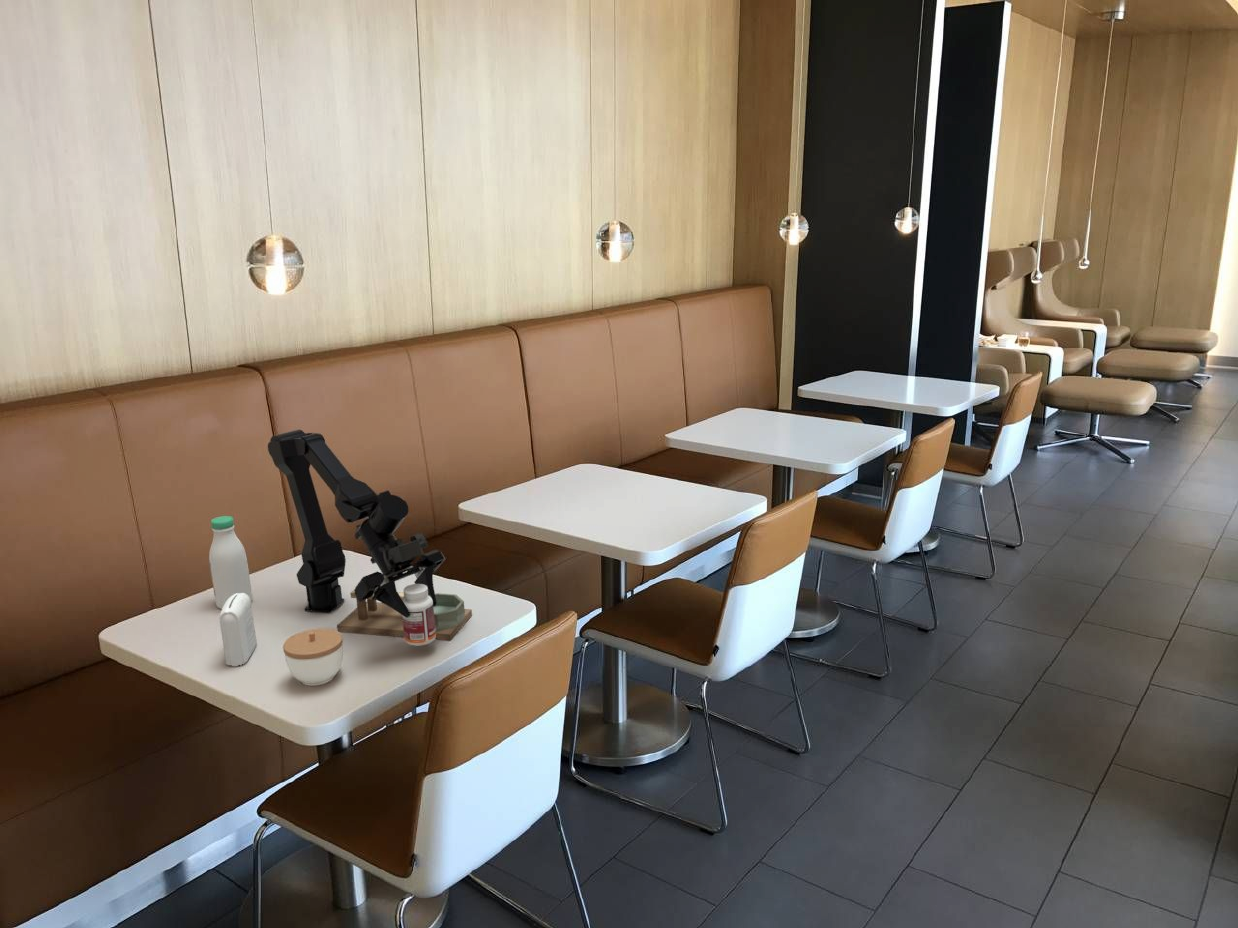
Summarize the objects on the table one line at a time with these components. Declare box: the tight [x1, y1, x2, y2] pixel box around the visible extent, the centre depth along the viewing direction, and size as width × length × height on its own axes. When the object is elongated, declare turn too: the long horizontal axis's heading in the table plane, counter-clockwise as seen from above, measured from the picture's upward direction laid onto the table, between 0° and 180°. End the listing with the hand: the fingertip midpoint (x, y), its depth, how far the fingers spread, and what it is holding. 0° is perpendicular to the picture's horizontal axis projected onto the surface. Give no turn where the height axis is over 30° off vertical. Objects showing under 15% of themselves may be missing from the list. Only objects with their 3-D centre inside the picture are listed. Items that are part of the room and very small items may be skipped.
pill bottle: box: [402, 583, 436, 647], centre depth 202 cm, size 6×6×11 cm
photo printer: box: [219, 593, 257, 667], centre depth 203 cm, size 10×4×12 cm, turn 5°
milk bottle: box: [208, 515, 253, 610], centre depth 226 cm, size 8×8×20 cm
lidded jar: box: [282, 628, 344, 687], centre depth 193 cm, size 11×11×9 cm
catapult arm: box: [349, 588, 466, 631], centre depth 215 cm, size 24×10×5 cm, turn 77°
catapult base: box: [336, 597, 473, 642], centre depth 215 cm, size 25×12×7 cm, turn 77°
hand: (422, 610), depth 201 cm, fingers closed on pill bottle, 6 cm apart
